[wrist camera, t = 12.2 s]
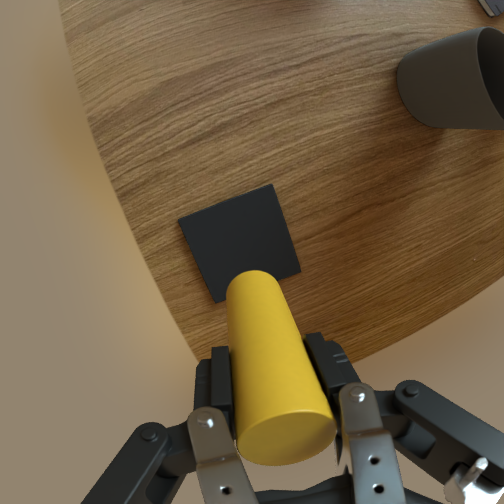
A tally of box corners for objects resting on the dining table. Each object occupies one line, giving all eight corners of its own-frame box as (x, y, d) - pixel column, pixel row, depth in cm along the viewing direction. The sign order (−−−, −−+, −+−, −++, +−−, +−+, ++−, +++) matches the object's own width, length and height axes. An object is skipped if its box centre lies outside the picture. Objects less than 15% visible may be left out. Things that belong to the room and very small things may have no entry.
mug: (425, 144, 26) (510, 152, 15) (378, 71, 24) (457, 43, 12) (481, 90, 24) (552, 88, 13) (443, 28, 22) (512, 5, 10)
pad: (178, 219, 27) (177, 220, 26) (271, 183, 26) (272, 184, 26) (215, 301, 30) (215, 303, 29) (300, 270, 29) (301, 272, 29)
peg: (217, 308, 19) (221, 460, 8) (239, 261, 18) (264, 403, 7) (266, 324, 19) (305, 469, 9) (289, 281, 19) (357, 416, 8)
